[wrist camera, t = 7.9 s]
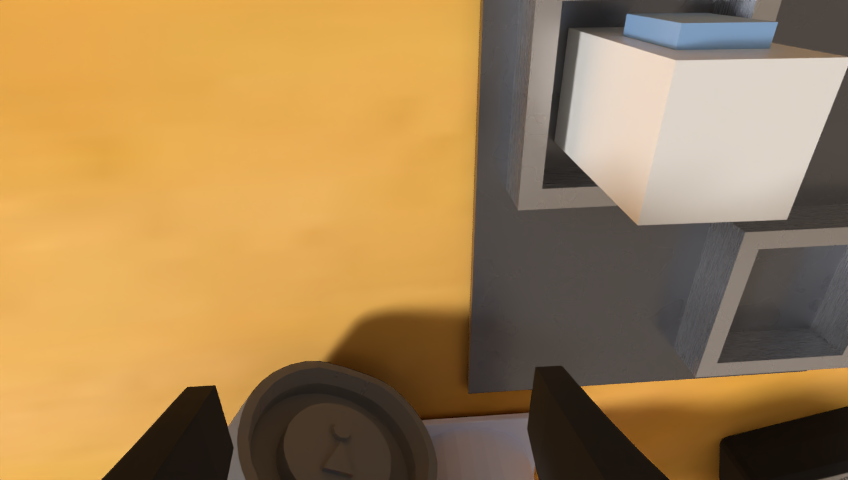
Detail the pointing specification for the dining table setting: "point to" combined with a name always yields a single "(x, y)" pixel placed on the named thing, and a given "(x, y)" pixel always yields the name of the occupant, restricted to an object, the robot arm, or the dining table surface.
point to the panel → (641, 229)
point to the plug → (694, 115)
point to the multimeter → (789, 450)
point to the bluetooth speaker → (328, 429)
